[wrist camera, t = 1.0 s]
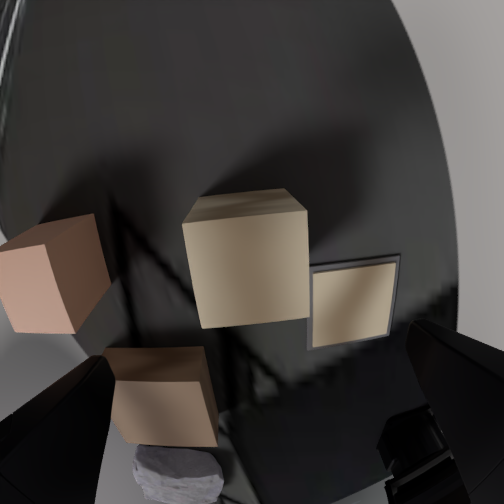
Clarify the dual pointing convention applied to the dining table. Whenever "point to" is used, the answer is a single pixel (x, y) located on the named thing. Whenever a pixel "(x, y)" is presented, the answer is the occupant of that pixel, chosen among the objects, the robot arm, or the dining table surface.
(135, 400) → the walnut base block
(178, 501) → the stone block
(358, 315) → the tile
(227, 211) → the oak block
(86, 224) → the terracotta block
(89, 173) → the dining table surface
